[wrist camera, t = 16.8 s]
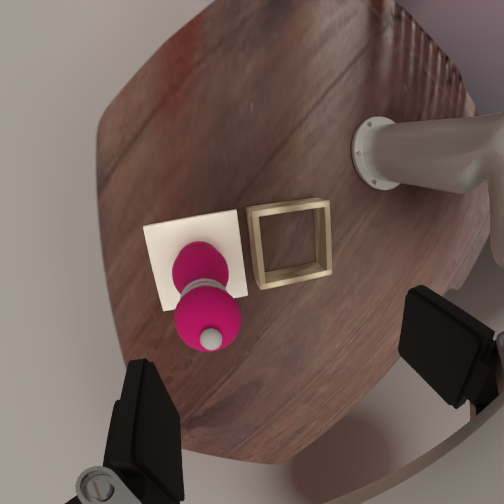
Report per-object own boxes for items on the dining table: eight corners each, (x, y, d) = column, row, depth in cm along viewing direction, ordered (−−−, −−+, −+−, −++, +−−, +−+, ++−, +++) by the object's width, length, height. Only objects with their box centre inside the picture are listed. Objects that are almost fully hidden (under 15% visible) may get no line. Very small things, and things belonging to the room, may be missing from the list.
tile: (235, 209, 39) (236, 210, 38) (246, 292, 43) (247, 295, 43) (144, 225, 37) (143, 226, 36) (163, 308, 41) (163, 311, 40)
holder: (317, 197, 42) (329, 200, 38) (320, 265, 45) (331, 274, 41) (245, 207, 40) (251, 211, 36) (254, 279, 43) (260, 290, 39)
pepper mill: (198, 295, 41) (213, 391, 22) (162, 262, 38) (146, 346, 20) (234, 262, 41) (276, 340, 22) (199, 226, 38) (212, 284, 19)
